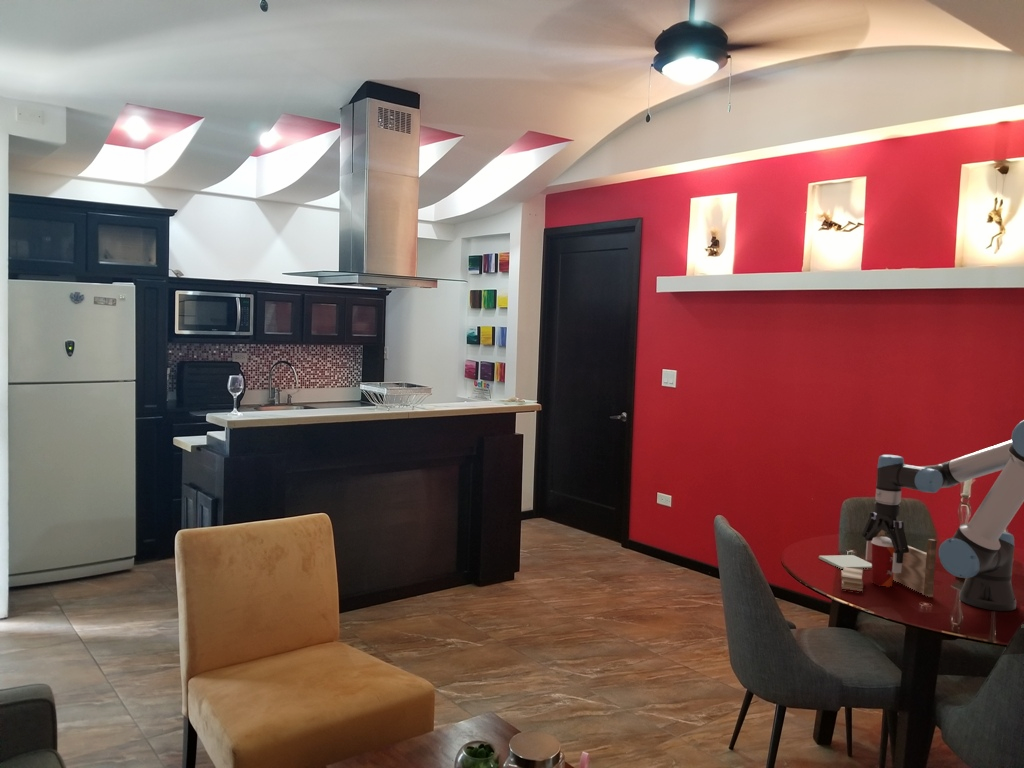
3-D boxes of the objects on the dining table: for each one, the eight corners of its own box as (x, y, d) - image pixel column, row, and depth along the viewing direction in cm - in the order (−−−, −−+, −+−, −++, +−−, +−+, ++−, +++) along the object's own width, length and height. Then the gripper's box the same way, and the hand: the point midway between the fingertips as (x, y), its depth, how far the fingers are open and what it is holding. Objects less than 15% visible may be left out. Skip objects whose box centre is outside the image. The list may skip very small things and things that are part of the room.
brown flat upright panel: (932, 596, 249) (936, 540, 248) (927, 597, 249) (931, 540, 248) (878, 571, 275) (882, 520, 274) (874, 571, 274) (877, 520, 273)
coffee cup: (897, 589, 255) (900, 544, 254) (869, 586, 258) (872, 540, 257) (893, 582, 263) (897, 537, 262) (866, 579, 266) (869, 535, 265)
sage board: (877, 569, 278) (877, 566, 278) (841, 569, 275) (841, 567, 275) (853, 557, 292) (853, 555, 292) (818, 558, 289) (818, 555, 289)
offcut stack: (862, 593, 251) (863, 580, 250) (840, 590, 253) (841, 576, 253) (861, 581, 264) (862, 568, 263) (840, 578, 266) (841, 565, 266)
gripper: (853, 494, 270) (849, 555, 272) (903, 511, 246) (898, 578, 247) (873, 494, 272) (868, 555, 273) (924, 511, 247) (919, 577, 249)
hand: (882, 566), depth 260 cm, fingers open, 13 cm apart
